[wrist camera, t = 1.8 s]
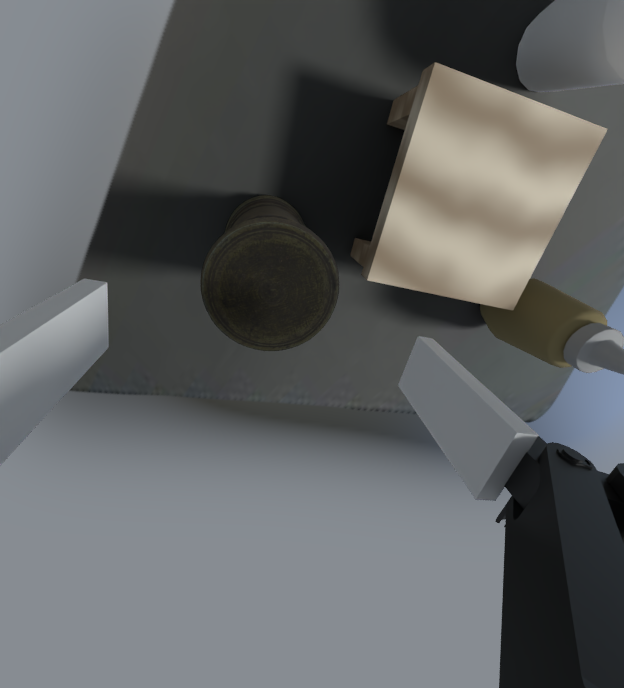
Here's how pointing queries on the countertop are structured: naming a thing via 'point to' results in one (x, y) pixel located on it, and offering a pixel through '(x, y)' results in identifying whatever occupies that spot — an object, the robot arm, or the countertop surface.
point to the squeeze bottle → (558, 330)
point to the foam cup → (573, 46)
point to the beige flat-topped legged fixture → (474, 189)
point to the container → (269, 277)
